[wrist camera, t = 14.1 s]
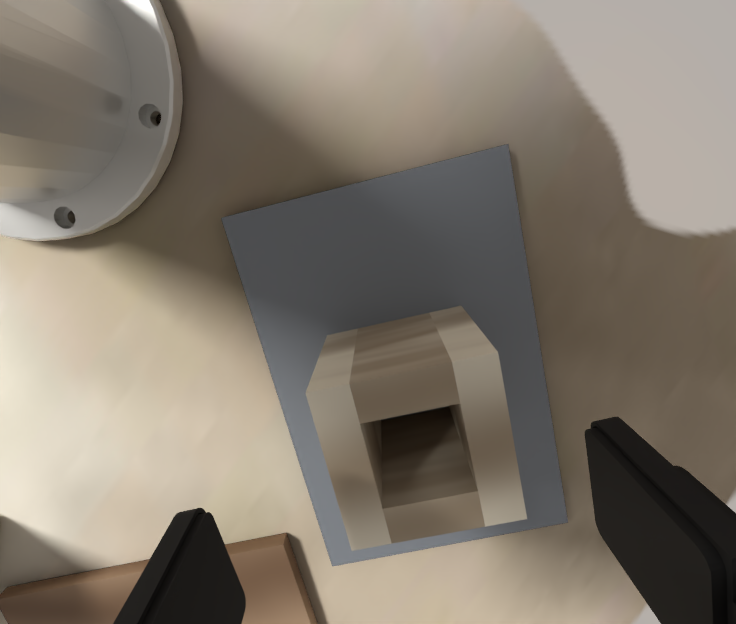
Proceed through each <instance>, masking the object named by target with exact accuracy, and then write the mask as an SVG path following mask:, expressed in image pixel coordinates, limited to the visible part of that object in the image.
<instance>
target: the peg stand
mask: <svg viewBox="0 0 736 624" xmlns="http://www.w3.org/2000/svg"><path fill="white" fill-rule="evenodd" d="M225 547H226V549H227V552H228V554H229V557H230V559H231V561H232V564H233V566H234V569H235V571H236V573H237V576H238V578H239V581H240V583H241V586H242V588H243V590H244V593H245V598H246V608H245V613H244V616H243V620H242V624H317V621H316V618H315V615H314V612H313V609H312V606H311V603H310V600H309V597H308V594H307V591H306V589H305V586H304V583H303V580H302V577H301V574H300V571H299V568H298V565H297V562H296V559H295V556H294V553H293V551H292V548H291V545H290V542H289V539H288V536H287V533H283V534H278V535H273V536H268V537H263V538H258V539H252V540H247V541H242V542H237V543H232V544H227V545H225ZM149 560H150V559H149ZM149 560H144V561H139V562H134V563H129V564H124V565H119V566H113V567H108V568H103V569H98V570H93V571H88V572H83V573H77V574H72V575H67V576H62V577H57V578H52V579H46V580H41V581H36V582H31V583H26V584H21V585H16V586H10V587H7V588H6V589H5V590H4V591H3V592H2V593H1V594H0V610H1V612H2V613H3V615H4V617H5V619H6V621H7V622H8V624H113V623H114V621H115V619H116V618H117V616H118V614H119V612H120V611H121V609H122V607H123V605H124V604H125V602H126V600H127V598H128V597H129V595H130V593H131V591H132V590H133V588H134V586H135V584H136V583H137V581H138V579H139V577H140V576H141V574H142V572H143V571H144V569H145V567H146V565H147V564H148V562H149Z"/></svg>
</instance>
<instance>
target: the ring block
mask: <svg viewBox="0 0 736 624" xmlns="http://www.w3.org/2000/svg"><path fill="white" fill-rule="evenodd" d="M306 397H307V400H308V404H309V407H310V410H311V414H312V417H313V421H314V424H315V427H316V431H317V434H318V438H319V441H320V444H321V448H322V451H323V455H324V458H325V461H326V465H327V468H328V472H329V475H330V478H331V482H332V485H333V489H334V492H335V496H336V499H337V502H338V506H339V509H340V513H341V516H342V519H343V523H344V526H345V530H346V533H347V536H348V540H349V543H350V547H351V550H352V551H354V550H359V549H365V548H370V547H376V546H381V545H387V544H392V543H398V542H403V541H409V540H414V539H420V538H425V537H431V536H436V535H442V534H447V533H453V532H459V531H464V530H470V529H475V528H481V527H486V526H492V525H497V524H503V523H508V522H514V521H519V520H525V519H527V515H526V509H525V503H524V498H523V492H522V486H521V480H520V475H519V469H518V463H517V457H516V452H515V446H514V440H513V435H512V429H511V423H510V417H509V412H508V406H507V400H506V394H505V389H504V383H503V377H502V371H501V366H500V360H499V354H498V351H497V350H496V349H495V348H494V346H493V345H492V344H491V342H490V341H489V340H488V339H487V337H486V336H485V335H484V334H483V332H482V331H481V330H480V329H479V327H478V326H477V325H476V324H475V322H474V321H473V320H472V319H471V317H470V316H469V315H468V314H467V312H466V311H465V310H464V309H463V307H462V306H457V307H452V308H448V309H443V310H439V311H434V312H430V313H425V314H421V315H416V316H412V317H407V318H403V319H398V320H394V321H389V322H385V323H380V324H376V325H371V326H367V327H362V328H358V329H353V330H349V331H344V332H340V333H335V334H331V335H327V337H326V340H325V342H324V345H323V348H322V350H321V353H320V356H319V358H318V361H317V364H316V366H315V369H314V372H313V374H312V377H311V379H310V382H309V385H308V387H307V390H306ZM445 406H449V407H447V408H442V409H437V410H433V411H428V412H423V413H418V414H413V415H408V416H403V417H398V418H393V419H389V420H384V421H381V419H386V418H391V417H396V416H401V415H406V414H411V413H416V412H421V411H426V410H430V409H435V408H440V407H445Z"/></svg>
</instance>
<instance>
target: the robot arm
mask: <svg viewBox="0 0 736 624" xmlns="http://www.w3.org/2000/svg"><path fill="white" fill-rule="evenodd" d="M182 107H183V93H182V75H181V66H180V62H179V57H178V53H177V49H176V44H175V40H174V35H173V33H172V30H171V28H170V25H169V23H168V21H167V18H166V16H165V13H164V11H163V8H162V6H161V3H160V1H159V0H0V236H4V237H7V238H11V239H21V240H32V241H48V240H60V239H69V238H74V237H79V236H84V235H88V234H93V233H95V232H98V231H100V230H102V229H104V228H107V227H109V226H111V225H114V224H116V223H118V222H119V221H120V220H122V219H123V218H124V217H126V216H127V215H129V214H130V213H131V212H133V211H134V210H135V209H137V208H138V207H139V206H140V205H141V204H142V203H143V201H144V200H145V199H146V198H147V197H148V196H149V195H150V193H151V192H152V191H153V190H154V189H155V188H156V186H157V185H158V183H159V181H160V179H161V178H162V176H163V174H164V172H165V170H166V169H167V167H168V165H169V163H170V161H171V158H172V155H173V152H174V148H175V145H176V142H177V139H178V136H179V131H180V123H181V115H182ZM159 114H161V122H160V124H159V125H157V123H156V117H157V115H159ZM585 440H586V448H587V457H588V465H589V473H590V481H591V489H592V497H593V505H594V513H595V521H596V525H597V528H598V530H599V532H600V534H601V536H602V538H603V539H604V541H605V542H606V544H607V545H608V547H609V548H610V550H611V551H612V553H613V554H614V556H615V557H616V558H617V560H618V561H619V563H620V564H621V566H622V567H623V569H624V570H625V572H626V573H627V575H628V576H629V577H630V579H631V580H632V582H633V583H634V585H635V586H636V588H637V589H638V591H639V592H640V594H641V595H642V596H643V598H644V599H645V601H646V602H647V604H648V605H649V607H650V608H651V610H652V611H653V612H654V614H655V615H656V617H657V618H658V620H659V621H660V623H661V624H736V513H735V512H734V511H732V510H731V509H730V508H729V507H728V506H727V505H726V504H724V503H723V502H722V501H721V500H720V499H719V498H718V497H716V496H715V495H714V494H713V493H712V492H711V491H710V490H708V489H707V488H706V487H705V486H704V485H703V484H702V483H700V482H699V481H698V480H697V479H696V478H695V477H693V476H692V475H691V474H690V473H689V472H688V471H686V470H685V469H683V468H682V467H679V466H673V465H672V464H671V463H669V462H668V461H667V460H666V459H665V458H664V457H663V456H662V455H661V454H659V453H658V452H657V451H656V450H655V449H654V448H653V447H652V446H650V445H649V444H648V443H647V442H646V441H645V440H644V439H643V438H642V437H640V436H639V435H638V434H637V433H636V432H635V431H634V430H633V429H631V428H630V427H629V426H628V425H627V424H626V423H625V422H624V421H623V420H621V419H620V418H619V417H612V418H608V419H603V420H599V421H594V422H592V423H591V429H587V430H586V431H585ZM245 608H246V598H245V593H244V590H243V588H242V586H241V583H240V581H239V578H238V576H237V573H236V571H235V569H234V566H233V564H232V561H231V559H230V557H229V554H228V552H227V549H226V547H225V544H224V542H223V540H222V537H221V535H220V532H219V530H218V527H217V525H216V523H215V520H214V518H213V516H212V514H211V513H209V512H207V513H206V512H205V510H204V509H202V508H197V509H192V510H188V511H183V512H179V513H177V514H176V515H175V517H174V518H173V520H172V522H171V523H170V525H169V527H168V529H167V530H166V532H165V534H164V536H163V537H162V539H161V541H160V543H159V544H158V546H157V548H156V550H155V551H154V553H153V555H152V557H151V558H150V560H149V562H148V564H147V565H146V567H145V569H144V571H143V572H142V574H141V576H140V577H139V579H138V581H137V583H136V584H135V586H134V588H133V590H132V591H131V593H130V595H129V597H128V598H127V600H126V602H125V604H124V605H123V607H122V609H121V611H120V612H119V614H118V616H117V618H116V619H115V621H114V623H113V624H242V620H243V616H244V613H245Z"/></svg>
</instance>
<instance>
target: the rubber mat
mask: <svg viewBox="0 0 736 624" xmlns="http://www.w3.org/2000/svg"><path fill="white" fill-rule="evenodd" d="M221 219H222V222H223V226H224V229H225V232H226V235H227V238H228V241H229V244H230V247H231V251H232V254H233V257H234V260H235V263H236V266H237V269H238V273H239V276H240V279H241V282H242V285H243V288H244V291H245V294H246V298H247V301H248V304H249V307H250V310H251V313H252V316H253V319H254V323H255V326H256V329H257V332H258V335H259V338H260V341H261V345H262V348H263V351H264V354H265V357H266V360H267V363H268V366H269V370H270V373H271V376H272V379H273V382H274V385H275V388H276V392H277V395H278V398H279V401H280V404H281V407H282V410H283V413H284V417H285V420H286V423H287V426H288V429H289V432H290V435H291V438H292V442H293V445H294V448H295V451H296V454H297V457H298V460H299V464H300V467H301V470H302V473H303V476H304V479H305V482H306V485H307V489H308V492H309V495H310V498H311V501H312V504H313V507H314V510H315V514H316V517H317V520H318V523H319V526H320V529H321V532H322V536H323V539H324V542H325V545H326V548H327V551H328V554H329V557H330V561H331V564H332V566H337V565H343V564H348V563H353V562H359V561H364V560H369V559H375V558H380V557H385V556H391V555H396V554H402V553H407V552H412V551H418V550H423V549H428V548H434V547H439V546H445V545H450V544H455V543H461V542H466V541H471V540H477V539H482V538H488V537H493V536H498V535H504V534H509V533H514V532H520V531H525V530H530V529H536V528H541V527H547V526H552V525H557V524H563V523H568V519H567V513H566V506H565V500H564V494H563V487H562V481H561V475H560V468H559V462H558V456H557V450H556V443H555V437H554V431H553V424H552V418H551V412H550V405H549V399H548V393H547V386H546V380H545V374H544V367H543V361H542V355H541V348H540V342H539V336H538V329H537V323H536V317H535V311H534V304H533V298H532V292H531V285H530V279H529V273H528V266H527V260H526V254H525V247H524V241H523V235H522V228H521V222H520V216H519V209H518V203H517V197H516V190H515V184H514V178H513V172H512V165H511V159H510V153H509V146H508V144H506V145H502V146H499V147H495V148H491V149H487V150H483V151H479V152H475V153H471V154H467V155H464V156H460V157H456V158H452V159H448V160H444V161H440V162H436V163H432V164H429V165H425V166H421V167H417V168H413V169H409V170H405V171H401V172H398V173H394V174H390V175H386V176H382V177H378V178H374V179H370V180H366V181H363V182H359V183H355V184H351V185H347V186H343V187H339V188H335V189H331V190H328V191H324V192H320V193H316V194H312V195H308V196H304V197H300V198H296V199H293V200H289V201H285V202H281V203H277V204H273V205H269V206H265V207H262V208H258V209H254V210H250V211H246V212H242V213H238V214H234V215H230V216H227V217H223V218H221ZM457 306H462V307H463V309H464V310H465V311H466V312H467V314H468V315H469V316H470V317H471V319H472V320H473V321H474V322H475V324H476V325H477V326H478V327H479V329H480V330H481V331H482V332H483V334H484V335H485V336H486V337H487V339H488V340H489V341H490V342H491V344H492V345H493V346H494V348H495V349H496V350H497V351H498V354H499V360H500V366H501V371H502V377H503V383H504V389H505V394H506V400H507V406H508V412H509V417H510V423H511V429H512V435H513V440H514V446H515V452H516V457H517V463H518V469H519V475H520V480H521V486H522V492H523V498H524V503H525V509H526V515H527V519H525V520H519V521H514V522H508V523H503V524H497V525H492V526H486V527H481V528H475V529H470V530H464V531H459V532H453V533H447V534H442V535H436V536H431V537H425V538H420V539H414V540H409V541H403V542H398V543H392V544H387V545H381V546H376V547H370V548H365V549H359V550H354V551H352V550H351V547H350V543H349V540H348V536H347V533H346V530H345V526H344V523H343V519H342V516H341V513H340V509H339V506H338V502H337V499H336V496H335V492H334V489H333V485H332V482H331V478H330V475H329V472H328V468H327V465H326V461H325V458H324V455H323V451H322V448H321V444H320V441H319V438H318V434H317V431H316V427H315V424H314V421H313V417H312V414H311V410H310V407H309V404H308V400H307V397H306V390H307V387H308V385H309V382H310V379H311V377H312V374H313V372H314V369H315V366H316V364H317V361H318V358H319V356H320V353H321V350H322V348H323V345H324V342H325V340H326V337H327V335H331V334H335V333H340V332H344V331H349V330H353V329H358V328H362V327H367V326H371V325H376V324H380V323H385V322H389V321H394V320H398V319H403V318H407V317H412V316H416V315H421V314H425V313H430V312H434V311H439V310H443V309H448V308H452V307H457ZM447 407H449V406H445V407H440V408H435V409H430V410H426V411H421V412H416V413H411V414H406V415H401V416H396V417H391V418H386V419H381V421H384V420H389V419H393V418H398V417H403V416H408V415H413V414H418V413H423V412H428V411H433V410H437V409H442V408H447Z"/></svg>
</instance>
